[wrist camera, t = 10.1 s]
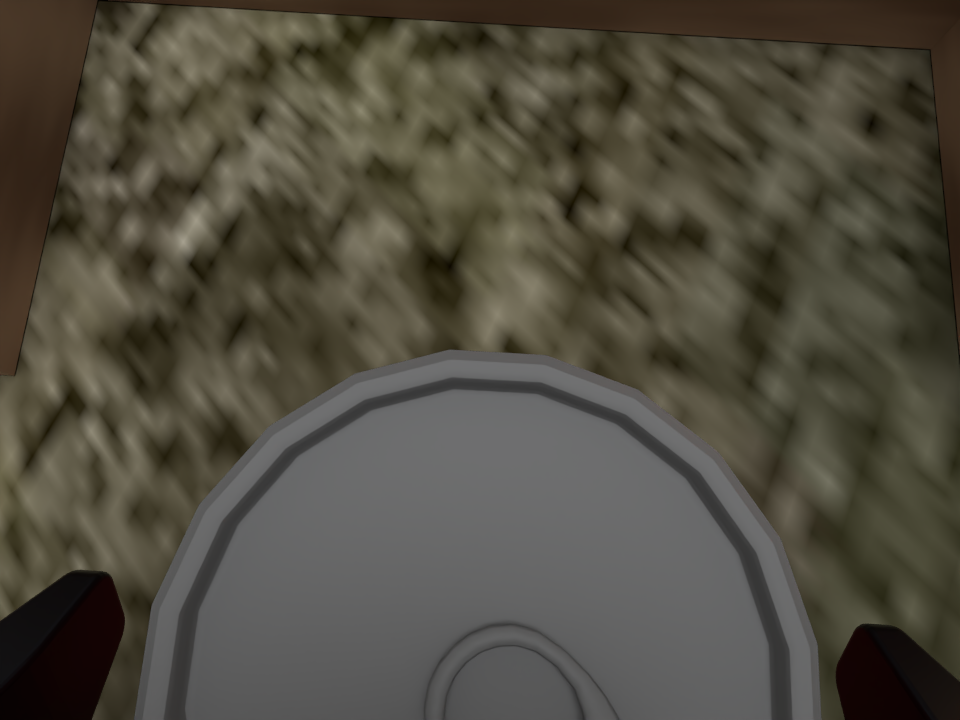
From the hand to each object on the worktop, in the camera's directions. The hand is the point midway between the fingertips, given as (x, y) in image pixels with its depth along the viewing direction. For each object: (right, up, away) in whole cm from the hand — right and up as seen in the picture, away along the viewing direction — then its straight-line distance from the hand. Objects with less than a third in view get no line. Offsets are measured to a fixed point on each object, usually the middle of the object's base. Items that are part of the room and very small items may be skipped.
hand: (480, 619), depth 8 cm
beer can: (0, -2, +9) cm, 9 cm away
